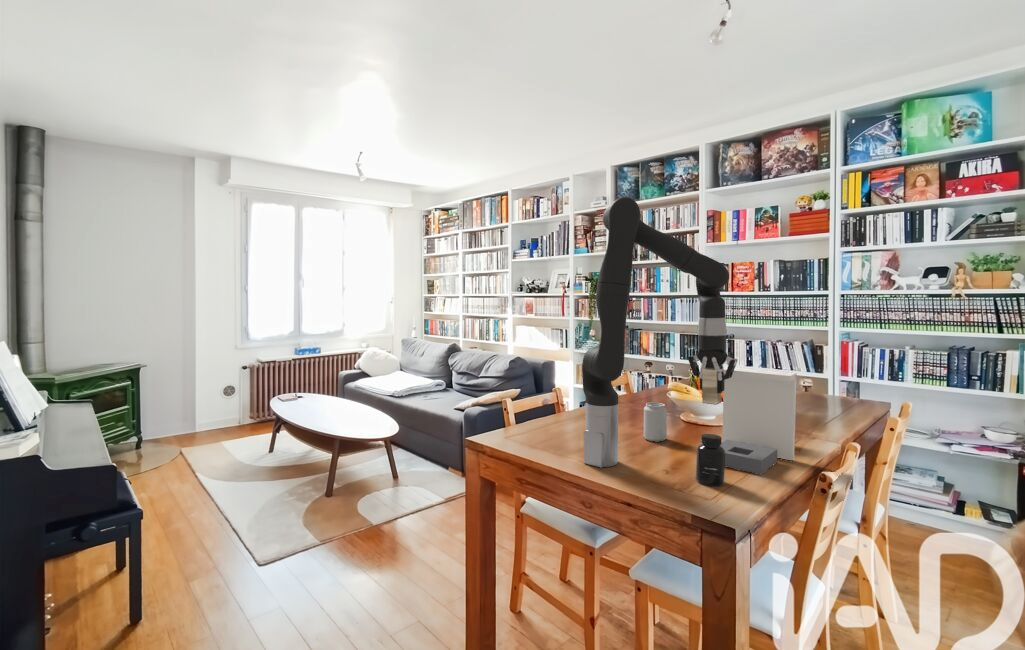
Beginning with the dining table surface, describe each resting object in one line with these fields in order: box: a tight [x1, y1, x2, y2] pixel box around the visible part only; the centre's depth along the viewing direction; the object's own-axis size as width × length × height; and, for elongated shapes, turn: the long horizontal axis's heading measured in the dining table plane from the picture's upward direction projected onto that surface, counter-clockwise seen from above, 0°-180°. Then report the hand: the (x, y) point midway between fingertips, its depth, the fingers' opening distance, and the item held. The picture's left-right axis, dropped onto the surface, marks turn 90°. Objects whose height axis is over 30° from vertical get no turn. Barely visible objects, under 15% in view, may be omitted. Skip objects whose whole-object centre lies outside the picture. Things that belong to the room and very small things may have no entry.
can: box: [643, 402, 668, 443], centre depth 167 cm, size 8×8×12 cm
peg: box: [701, 368, 722, 406], centre depth 145 cm, size 4×4×10 cm
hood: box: [721, 366, 798, 461], centre depth 149 cm, size 6×20×26 cm, turn 47°
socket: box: [720, 439, 778, 475], centre depth 143 cm, size 14×14×4 cm
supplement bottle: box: [695, 433, 726, 487], centre depth 128 cm, size 7×7×12 cm
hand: (712, 391), depth 145 cm, fingers closed on peg, 4 cm apart
